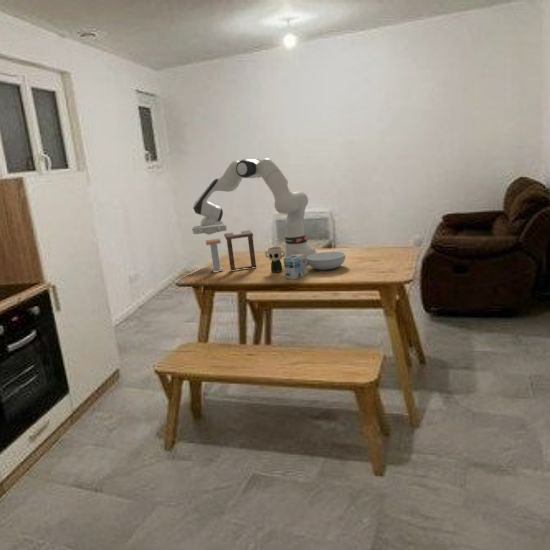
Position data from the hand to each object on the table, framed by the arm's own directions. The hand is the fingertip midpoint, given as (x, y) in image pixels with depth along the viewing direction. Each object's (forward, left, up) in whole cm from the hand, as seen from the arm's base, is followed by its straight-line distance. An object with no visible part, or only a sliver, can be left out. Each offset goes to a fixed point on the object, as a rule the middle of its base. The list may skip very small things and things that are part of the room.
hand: (210, 231), depth 289 cm
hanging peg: (-12, +6, -22) cm, 25 cm away
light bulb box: (-63, -12, -22) cm, 68 cm away
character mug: (-45, -13, -22) cm, 52 cm away
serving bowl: (-64, -32, -22) cm, 75 cm away
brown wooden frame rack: (-18, -8, -22) cm, 29 cm away
